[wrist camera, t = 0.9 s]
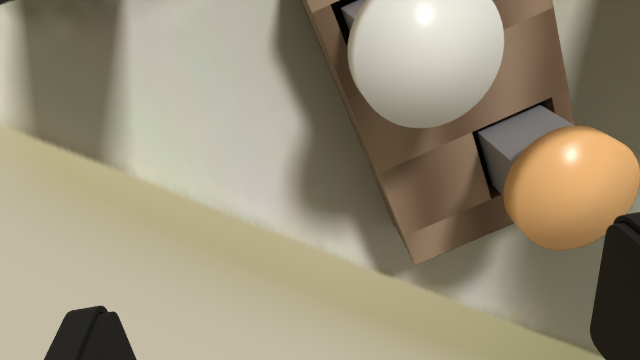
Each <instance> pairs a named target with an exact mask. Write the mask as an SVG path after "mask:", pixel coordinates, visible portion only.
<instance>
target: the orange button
mask: <svg viewBox="0 0 640 360" xmlns="http://www.w3.org/2000/svg"><path fill="white" fill-rule="evenodd" d="M477 134H478V137H479V141H480V144H481V148H482V151H483V155H484V158H485V162H486V165H487V169H488V172H489V176H490V179H491V183H492V185H493V186H494V187H495V188H496V189H497V190H498V191H499V192H500V193H501V194H502V195H503V199H504V205H505V209H506V211H507V214H508V215H509V217H510V218H511V220H512V221H513V222H514V223H515V224H516V225H517V226H518V227H519V229H520V230H521V231H522V232H523V233H524V234H525V235H526V236H527V237H528V238H529V239H530V240H531V241H532V242H534V243H535V244H537V245H539V246H541V247H544V248H547V249H551V250H569V249H574V248H578V247H582V246H585V245H587V244H590V243H592V242H594V241H596V240H597V239H599V238H601V237H603V236H604V235H605V234H606V230H607V228H608V227H609V226H610V225H613V222H614V220H615V219H616V218H617V217H618V216H621V215H626V214H627V212H628V211H629V209H630V208H631V206H632V204H633V202H634V200H635V198H636V195H637V192H638V188H639V183H640V169H639V164H638V161H637V159H636V157H635V155H634V154H633V152H632V151H631V150H630V149H629V148H628V147H627V146H626V145H624V144H623V143H621V142H619V141H618V140H616V139H614V138H612V137H610V136H609V135H607V134H605V133H603V132H601V131H600V130H598V129H595V128H592V127H589V126H582V125H574V124H572V123H570V122H568V121H567V120H565V119H563V118H562V117H560V116H558V115H556V114H555V113H553V112H551V111H550V110H548V109H546V108H545V107H543V106H541V105H537V106H534V107H532V108H530V109H528V110H525V111H523V112H521V113H518V114H516V115H514V116H512V117H509V118H507V119H505V120H502V121H500V122H498V123H496V124H493V125H491V126H489V127H487V128H484V129H482V130H480V131H477Z"/></svg>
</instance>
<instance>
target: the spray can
mask: <svg viewBox="0 0 640 360" xmlns="http://www.w3.org/2000/svg"><path fill="white" fill-rule="evenodd" d="M11 1H14V0H0V5H1V4H4V3H7V2H11Z"/></svg>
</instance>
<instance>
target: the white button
mask: <svg viewBox="0 0 640 360" xmlns="http://www.w3.org/2000/svg"><path fill="white" fill-rule="evenodd" d="M341 10H342V13H343V15H344V18H345V21H346V23H347V26H348V29H349V31H350V35H349V40H348V63H349V69H350V72H351V75H352V78H353V80H354V82H355V84H356V86H357V88H358V89H359V91H360V92H361V94H362V95H363V96H364V98H365V99H366V101H367V102H368V103H369V104H370V106H371V107H372V108H373V109H374V110H375V111H376V112H377V113H378V114H380V115H381V116H382V117H384V118H385V119H387V120H389V121H391V122H393V123H395V124H397V125H401V126H404V127H410V128H430V127H435V126H439V125H443V124H446V123H448V122H451V121H453V120H455V119H457V118H459V117H460V116H462V115H463V114H465V113H466V112H468V111H469V110H470V109H471V108H473V107H474V106H475V105H476V104H477V103H478V102H479V101H480V100H481V99H482V98H483V96H484V95H485V94H486V92H487V91H488V90H489V88H490V86H491V85H492V83H493V82H494V79H495V77H496V75H497V73H498V70H499V67H500V64H501V61H502V56H503V50H504V31H503V25H502V21H501V18H500V14H499V12H498V10H497V8H496V6H495V4H494V2H493V1H492V0H357V1H354V2H352V3H350V4H348V5H346V6H344V7H341Z"/></svg>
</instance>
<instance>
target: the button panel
mask: <svg viewBox="0 0 640 360" xmlns="http://www.w3.org/2000/svg"><path fill="white" fill-rule="evenodd" d="M337 1H339V0H302V3H303V5H304V8H305V10H306V12H307V15H308V17H309V20H310V22H311V25H312V27H313V29H314V32H315V34H316V37H317V39H318V41H319V44H320V46H321V49H322V51H323V54H324V56H325V58H326V61H327V63H328V66H329V68H330V70H331V73H332V75H333V78H334V80H335V82H336V85H337V87H338V90H339V92H340V95H341V97H342V99H343V102H344V104H345V107H346V109H347V111H348V114H349V116H350V119H351V121H352V123H353V126H354V128H355V131H356V133H357V136H358V138H359V140H360V143H361V145H362V148H363V150H364V152H365V155H366V157H367V160H368V162H369V164H370V167H371V169H372V172H373V174H374V177H375V179H376V181H377V184H378V186H379V189H380V191H381V193H382V196H383V198H384V201H385V203H386V206H387V208H388V210H389V213H390V215H391V218H392V220H393V222H394V225H395V227H396V229H397V231H398V233H399V235H400V237H401V238H402V240H403V242H404V244H405V246H406V248H407V250H408V252H409V254H410V256H411V258H412V260H413V262H414V264H415V265H417V264H419V263H422V262H424V261H426V260H429V259H431V258H433V257H436V256H438V255H440V254H443V253H445V252H447V251H450V250H452V249H454V248H457V247H459V246H461V245H464V244H466V243H468V242H471V241H473V240H475V239H478V238H480V237H483V236H485V235H487V234H490V233H492V232H494V231H497V230H499V229H501V228H504V227H506V226H508V225H511V224H513V223H514V222H513V221H512V220H511V218H510V217H509V215H508V214H507V211H506V209H505V205H504V199H503V195H502V194H501V193H500V192H499V191H498V190H497V189H496V188H495V187H494V186H493V185H492V183H491V179H490V176H489V173H487V174H485V175H484V172H483V169H482V165H481V162H480V158H479V155H478V151H477V148H476V145H475V141H474V138H473V134H472V132H474V131H476V130H478V129H480V128H483V127H485V126H487V125H490V124H492V123H494V122H496V121H499V120H501V119H503V118H505V117H508V116H510V115H512V114H515V113H517V112H519V111H520V113H521V112H523V111H525V110H528V109H530V108H532V107H534V106H537V105H541V106H543V107H545V108H546V109H548V110H550V111H551V112H553V113H555V114H556V115H558V116H560V117H562V118H563V119H565V120H567V121H568V122H570V123H572V124H574V120H573V114H572V108H571V103H570V97H569V92H568V86H567V80H566V75H565V69H564V64H563V58H562V52H561V47H560V41H559V36H558V30H557V24H556V19H555V13H554V8H553V2H552V0H492V1H493V2H494V4H495V6H496V8H497V10H498V12H499V14H500V18H501V21H502V25H503V31H504V50H503V56H502V61H501V64H500V67H499V70H498V73H497V75H496V77H495V79H494V82H493V83H492V85H491V86H490V88H489V90H488V91H487V92H486V94H485V95H484V96H483V98H482V99H481V100H480V101H479V102H478V103H477V104H476V105H475V106H474V107H473V108H471V109H470V110H469V111H468V112H466V113H465V114H463V115H462V116H460V117H459V118H457V119H455V120H453V121H451V122H448V123H446V124H443V125H439V126H435V127H430V128H410V127H404V126H401V125H397V124H395V123H393V122H391V121H389V120H387V119H385V118H384V117H382V116H381V115H380V114H378V113H377V112H376V111H375V110H374V109H373V108H372V107H371V106H370V104H369V103H368V102H367V101H366V99H365V98H364V96H363V95H362V94H361V92H360V91H359V89H358V88H357V86H356V84H355V82H354V80H353V78H352V75H351V72H350V69H349V63H348V49H347V46H346V44H345V41H344V38H343V36H342V33H341V31H340V28H339V26H338V23H337V20H336V18H335V15H334V13H333V10H332V8H331V5H330V4H332V3H335V2H337Z"/></svg>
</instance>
